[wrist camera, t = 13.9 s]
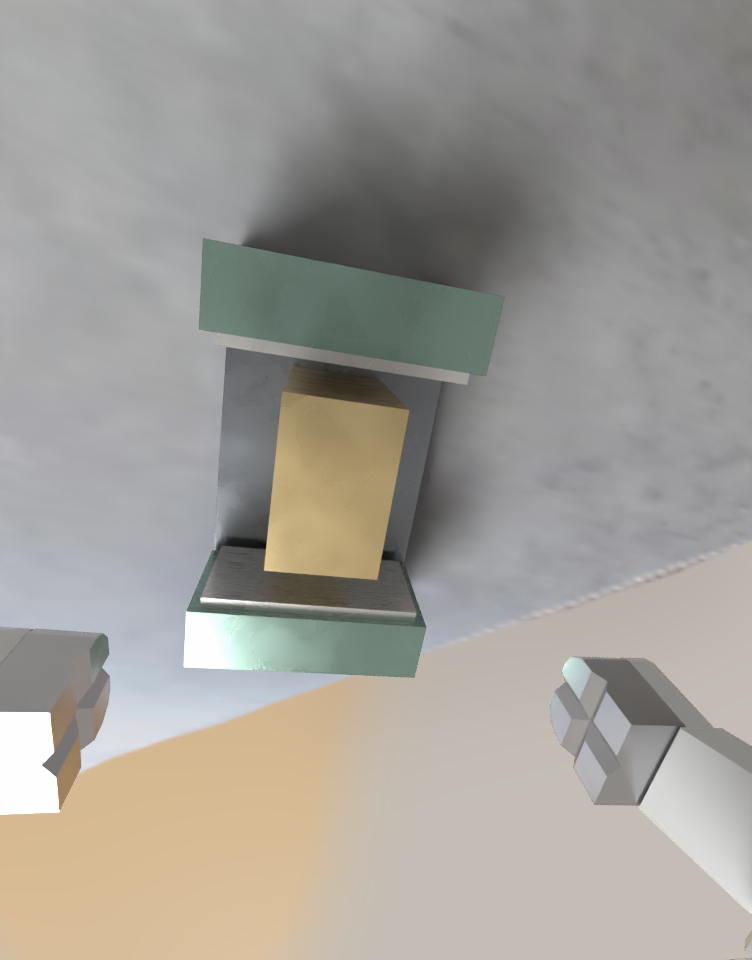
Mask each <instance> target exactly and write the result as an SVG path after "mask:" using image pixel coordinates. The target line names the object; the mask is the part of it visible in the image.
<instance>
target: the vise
mask: <svg viewBox="0 0 752 960" xmlns="http://www.w3.org/2000/svg"><path fill="white" fill-rule="evenodd" d="M503 301H504V297H503V296H498V295H492V294H487V293H482V292H477V291H472V290H467V289H462V288H456V287H451V286H446V285H441V284H436V283H431V282H426V281H420V280H415V279H410V278H405V277H400V276H395V275H390V274H384V273H379V272H374V271H369V270H364V269H359V268H354V267H348V266H343V265H338V264H333V263H328V262H323V261H318V260H313V259H307V258H302V257H297V256H292V255H287V254H282V253H277V252H271V251H266V250H261V249H256V248H251V247H246V246H241V245H235V244H230V243H225V242H220V241H215V240H210V239H205V238H203V250H202V273H201V295H200V317H199V330H205V331H211V332H216V341H215V345H218V346H224V347H226V362H225V378H224V394H223V409H222V425H221V441H220V457H219V473H218V488H217V504H216V520H215V536H214V550H215V551H220V548H221V546H232V547H243V548H254V549H265V550H266V545H267V535H268V525H269V516H270V506H271V496H272V486H273V476H274V467H275V457H276V447H277V437H278V427H279V418H280V408H281V398H282V391H283V388H284V386H285V383H286V381H287V379H288V376H289V374H290V371H291V369H292V367H293V366H294V367H301V368H307V369H314V370H320V371H327V372H333V373H340V374H346V375H353V376H359V377H365V378H372V379H378V380H381V381H382V382H383V383H384V384H385V385H386V386H387V387H388V388H389V389H390V390H391V391H392V392H393V393H394V394H395V396H396V397H397V398H398V399H399V400H400V401H401V402H402V403H403V404H404V405H405V406H406V407H407V408H408V409H409V415H408V420H407V426H406V431H405V436H404V441H403V447H402V452H401V457H400V463H399V468H398V473H397V478H396V484H395V489H394V494H393V499H392V505H391V510H390V515H389V520H388V526H387V531H386V536H385V541H384V547H383V552H382V557H381V560H388V561H399V562H400V565H401V567H404V563H405V558H406V553H407V549H408V544H409V539H410V534H411V529H412V525H413V520H414V515H415V510H416V505H417V501H418V496H419V491H420V486H421V481H422V477H423V472H424V467H425V462H426V457H427V453H428V448H429V443H430V438H431V434H432V429H433V424H434V419H435V414H436V410H437V405H438V400H439V395H440V390H441V386H442V381H445V382H451V383H458V384H464V385H467V384H468V380H469V375H470V374H475V375H481V376H486V373H487V369H488V365H489V361H490V356H491V352H492V348H493V344H494V339H495V335H496V331H497V327H498V323H499V318H500V314H501V310H502V306H503Z"/></svg>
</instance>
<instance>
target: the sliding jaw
mask: <svg viewBox="0 0 752 960" xmlns="http://www.w3.org/2000/svg"><path fill="white" fill-rule="evenodd" d="M265 555H266V550H265V549H254V548H243V547H232V546H221V548H220V551H215V550H213V551H212V553H211V555H210V558H209V560H208V562H207V565H206V567H205V569H204V572H203V574H202V576H201V579H200V581H199V583H198V586H197V588H196V590H195V593H194V595H193V597H192V600H191V602H190V604H189V607H188V609H187V611H186V629H185V652H184V667H196V668H218V669H239V670H261V671H282V672H304V673H325V674H346V675H369V676H389V677H390V676H391V677H412V678H414V677H415V673H416V669H417V665H418V660H419V656H420V652H421V648H422V643H423V639H424V635H425V631H426V625H425V622H424V619H423V617H422V614H421V611H420V608H419V605H418V602H417V600H416V597H415V594H414V591H413V588H412V585H411V583H410V580H409V577H408V574H407V571H406V568H405V567H401V565H400V562H399V561H388V560H381V563H380V568H379V573H378V578H377V580H372V579H359V578H347V577H335V576H322V575H310V574H298V573H286V572H273V571H264V564H265Z"/></svg>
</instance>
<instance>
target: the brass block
mask: <svg viewBox="0 0 752 960" xmlns="http://www.w3.org/2000/svg"><path fill="white" fill-rule="evenodd" d="M408 415H409V409H408V408H407V407H406V406H405V405H404V404H403V403H402V402H401V401H400V400H399V399H398V398H397V397H396V396H395V394H394V393H393V392H392V391H391V390H390V389H389V388H388V387H387V386H386V385H385V384H384V383H383V382H382V381H381V380H378V379H372V378H365V377H359V376H353V375H346V374H340V373H333V372H327V371H320V370H314V369H307V368H301V367H294V366H293V367H292V369H291V371H290V374H289V376H288V379H287V381H286V383H285V386H284V388H283V391H282V398H281V408H280V418H279V427H278V437H277V447H276V457H275V467H274V476H273V486H272V496H271V506H270V516H269V525H268V535H267V545H266V555H265V564H264V571H273V572H286V573H298V574H310V575H322V576H335V577H347V578H359V579H372V580H377V578H378V573H379V568H380V563H381V557H382V552H383V547H384V541H385V536H386V531H387V526H388V520H389V515H390V510H391V505H392V499H393V494H394V489H395V484H396V478H397V473H398V468H399V463H400V457H401V452H402V447H403V441H404V436H405V431H406V426H407V420H408Z"/></svg>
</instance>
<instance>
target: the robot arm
mask: <svg viewBox="0 0 752 960" xmlns="http://www.w3.org/2000/svg"><path fill="white" fill-rule="evenodd" d="M108 655H109V648H108V637H107V636H106V635H104V634H103V633H89V632H75V631H61V630H47V629H35V630H34V629H24V628H10V627H0V814H14V813H15V814H17V813H41V812H59V810H60V809H61V807H62V805H63V803H64V800H65V799H66V796H67V795H68V793H69V791H70V789H71V786H72V784H73V782H74V780H75V778H76V776H77V774H78V772H79V770H80V768H81V755H80V750H81V749H83V748H84V747H86V746H87V745H88V744H90V743H91V742H92V741H94V740H95V738H96V735H97V733H98V731H99V729H100V727H101V725H102V722H103V719H104V716H105V712H106V709H107V705H108V700H109V692H110V676H109V675H108V674H107V673H106V672H105V671H104V669H103V668H102V666H103V664H104V662H105V660H106V659H107V657H108ZM562 675H563V677H564V680H565V683H564V684H563V685H561V686H560V687H559V688H558V689H557V690H555V692H554V695H553V698H552V701H551V704H550V713H551V714H550V715H551V716H550V717H551V723H552V727H553V730H554V733H555V735H556V737H557V739H558V741H559V742H560V744H561V746H563V747H564V748H565V749H566V750H567V751H569V752H570V753H571V754H572V755H574V756H575V760H574V770H575V772H576V773H577V775H578V777H579V779H580V781H581V782H582V784H583V786H584V788H585V789H586V791H587V793H588V795H589V797H590V798H591V800H592V802H593V804H594V805H635V806H639V809H640V810H641V811H642V812H643V813H644V814H645V815H646V816H647V817H648V818H649V819H650V820H651V821H652V822H654V823H655V824H656V825H657V826H658V827H659V828H660V829H661V830H662V831H663V832H664V833H665V834H666V835H667V836H668V837H670V839H672V840H673V841H674V842H675V843H676V844H677V845H678V846H679V847H680V848H681V849H682V850H683V851H684V852H685V853H686V854H687V855H688V856H690V857H691V858H692V859H693V860H694V861H695V862H696V863H697V864H698V865H699V866H700V867H701V868H702V869H703V870H704V871H705V872H706V873H708V874H709V875H710V876H711V877H712V878H713V879H714V880H715V881H716V882H717V883H718V884H719V885H720V886H721V887H722V888H724V890H726V891H727V892H728V893H729V894H730V895H731V896H732V897H733V898H734V899H735V900H736V901H737V902H738V903H739V904H740V905H741V906H743V907H744V908H745V909H746V910H747V911H748V912H749V913H750V914H751V915H752V746H750V745H749V744H747V743H745V742H744V741H742V740H740V739H739V738H737V737H735V736H734V735H732V734H730V733H729V732H727V731H725V730H724V729H721V728H714V727H713V726H712V725H711V724H710V723H709V722H708V721H707V720H706V719H705V718H704V717H703V715H702V714H701V713H700V712H699V711H698V710H697V709H696V708H695V707H694V706H693V705H692V704H691V703H690V702H689V701H688V699H687V698H686V697H685V696H684V695H683V694H682V693H681V692H680V691H679V690H678V689H677V688H676V687H675V686H674V684H673V683H672V682H671V681H670V680H669V679H668V678H667V677H666V676H665V675H664V674H663V673H662V672H661V671H660V669H659V668H658V667H657V666H656V665H655V664H654V663H652V662H650V661H648V660H647V659H644V658H619V659H618V658H598V657H575V656H573V657H571V658H570V659H569V660H568V661H567V662H566V664H565V666H564V669H563V671H562ZM744 951H745V952H746V954H747V956H748V957H749V958H744V959H732V960H752V931H751V933H750V934H749V936H748V937H747V938H746V940H745V950H744Z"/></svg>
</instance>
